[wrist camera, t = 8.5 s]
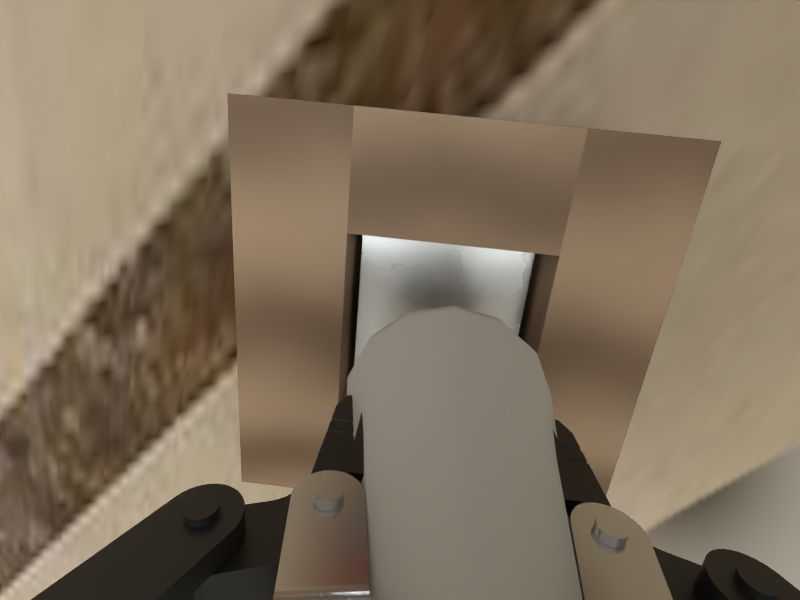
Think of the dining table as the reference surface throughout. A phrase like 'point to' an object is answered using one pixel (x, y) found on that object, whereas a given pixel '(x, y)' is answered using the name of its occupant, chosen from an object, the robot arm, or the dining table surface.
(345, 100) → the dining table surface
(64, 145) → the dining table surface
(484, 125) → the holder
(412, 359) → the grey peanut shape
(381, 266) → the white marbled square plate
